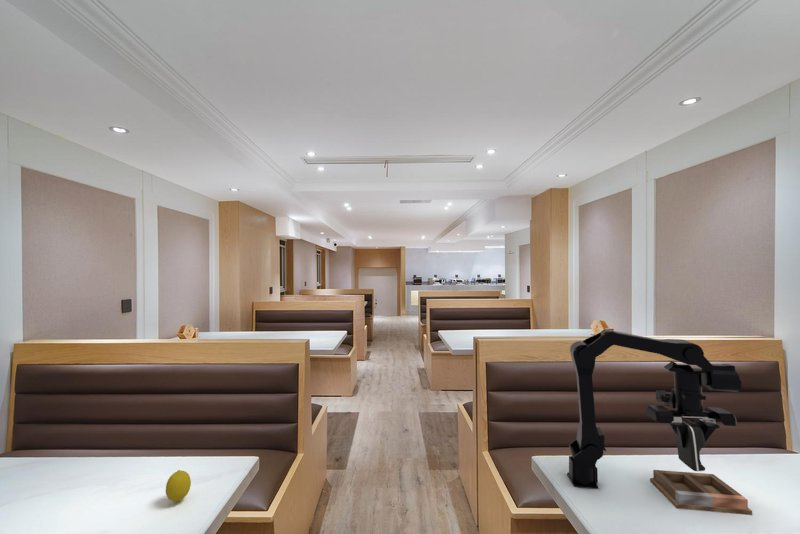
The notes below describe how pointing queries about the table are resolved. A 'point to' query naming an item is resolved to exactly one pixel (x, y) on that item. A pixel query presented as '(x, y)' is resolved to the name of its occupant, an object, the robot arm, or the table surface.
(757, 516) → the table surface
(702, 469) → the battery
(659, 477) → the dock
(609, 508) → the table surface
